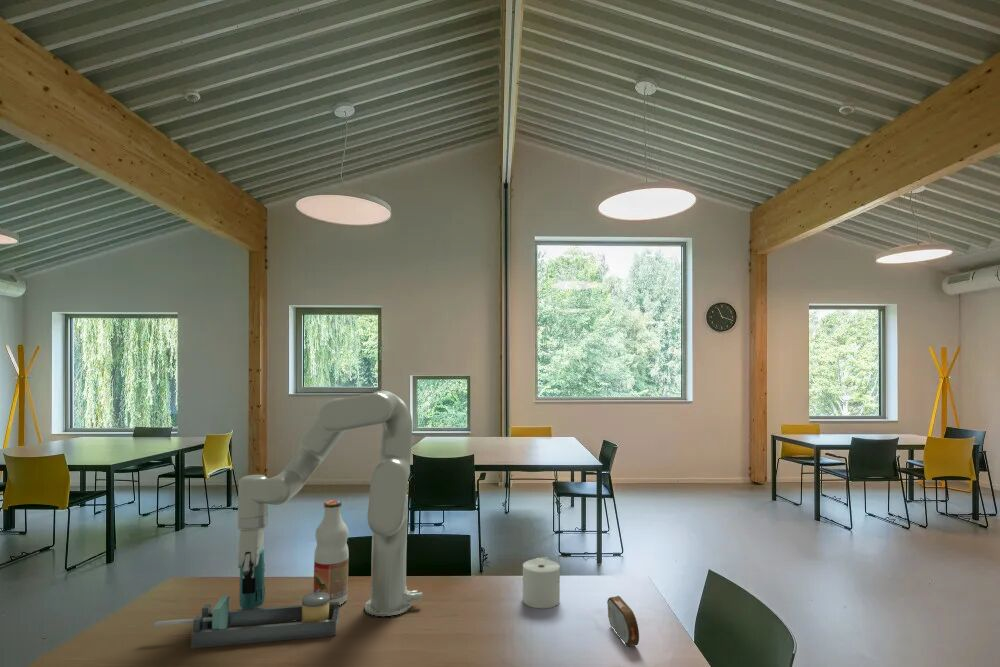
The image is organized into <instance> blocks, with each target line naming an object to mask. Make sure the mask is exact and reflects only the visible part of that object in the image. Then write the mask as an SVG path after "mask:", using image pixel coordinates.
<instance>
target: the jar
mask: <svg viewBox="0 0 1000 667" xmlns="http://www.w3.org/2000/svg"><path fill="white" fill-rule="evenodd" d="M329 601H330V595H329V594H328V593H326V592H310V593H306V594H305V595H303V597H302V598H301V605H302V620H301V622H307V621H319V620H330V618H329Z"/></svg>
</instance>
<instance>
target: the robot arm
mask: <svg viewBox="0 0 1000 667" xmlns="http://www.w3.org/2000/svg"><path fill="white" fill-rule="evenodd" d="M380 424H381V425H382V426H381V427H382V431H381V439H380V451H379V459H378V462H377V463H376V465H375V466H374V469H373V470H372V472H371V473H372V474H371V477H370V478H371V479H370V488H369V495H368V496H369V498H368V506H367V517H366V518H367V524H368V527H369V529H370V531H372V534H371V535H372V536H371V537H372V538H371V564H370V565H371V568H370V569H371V572H370V574H371V575H370V577H371V578H370V580H371V581H370V585H371V586H370V599H368V600H367V601H366V602H365V604H364V610H365V612H366V613H367V614H368V613H369V614H368V615H370V614H371V615H370V616H373V615H375V616H374V617H377V616H391V615H397V614H400V613H403V612H405V611H406V612H408V611H409V610H410V609H411V607H412V601H423V592H418V589H415V590H409V589H408V586H407V548H408V547H407V545H408V544H407V543H408V540H407V538H408V521H409V520H408V519H409V518H408V517H409V507H408V502H407V500H406V499H407V488H408V482H409V481H408V480H409V478H410V475H411V454H412V440H413V437H412V436H413V419H412V415H411V412H410V409H409V408H408V406H407V404H406V403H405V402H404V401H403V399H401V397H399V396H398V395H396V394H395V393H393V392H391V391H388V390H377V391H374V392H372V393H367V394H362V395H357V396H351V397H346V398H343V397H337V398H334V399H329V400H328V401H326V402H325V403H323V404H322V406H321V407H320V409H319V411H318V415H317V418H316V419H315V420H314V422H313V423H312V424H311V426H309V428H308V429H307V431H306V432H305V433H304V434H303V435H302V436H301V438H300V441H299V445H298V449H297V451H296V452H295V454H294V455H293V457H292V458H291V459H290V461H288V462H289V463H287V465H286V466H285V467H284V468H283V470H282V471H281V472H280V473H279V474H277V475H275V476H273V477H269V478H268V477H267V476H266V475H265V474H250V475H245V476H243V477H241V478H240V479H239V481H238V489H237V490H238V491H237V492H238V500H237V502H238V503H237V504H238V505H237V530H239V531H240V532H239V539H238V551H237V552H238V553H237V563H236V564H237V569H240V568H241V567H242V566H243V564H244V568H243V579H242V594H251V593H255V587H256V577H254V576H255V567H256V566H257V565H258V563H259V558H260V552H261V550H262V549H264V550H265V548H264V546H265V545H264V544H265V535H264V534H265V532H264V530H265V528H266V527H268V519H269V517H268V515H269V514H268V513H269V512H268V510H269V508H268V507H269V505H273V506H279V505H284V504H286V503H288V501H290V500H291V499H293V497H294V496H296V495H297V494H298V493H299V492H300V491H301V490H302V488H303V487H304V486H305V485H306V483H307V482H308V481H309V480H310V478H311V477H312V475H313V474H314V473H315V472H316V470H317V469H318V468H319V466H320V465H321V463H322V462H324V461H325V459H326V457H327V456H328V455H329V453H330V452H331V451H332V449H333V448H334V446H335V445H336V444H337V442H339V440H340V439H341V438H342V436H343V435H345V433H346V431H349V430H355V429H359V428H366V427H371V426H375V425H380ZM243 562H244V563H243ZM250 564H253V566H250ZM250 568H252V571H251V570H250ZM409 608H410V609H409ZM408 609H409V610H408ZM407 610H408V611H407ZM406 612H405V613H406ZM403 614H404V613H403ZM400 615H401V614H400ZM397 616H398V615H397ZM391 617H392V616H391Z"/></svg>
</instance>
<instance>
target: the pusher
mask: <svg viewBox="0 0 1000 667" xmlns="http://www.w3.org/2000/svg"><path fill="white" fill-rule="evenodd" d="M229 603H230V594H222V595H221V596H220V597H219V599H218V601H217V603H216V604H215V605H214V607H213V609H212V612H213V616H212V617H207V618H203V622H212V628H211V629H223V628H229V626H228V616H229V611H230V609H229V608H230V604H229ZM194 619H195V617H194V618H185V619H172V620H159V621H155V622H154V623H153V626H154V627H161V626H173V625H185V624H187V625H188V624H193V620H194Z"/></svg>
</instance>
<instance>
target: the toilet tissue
mask: <svg viewBox="0 0 1000 667" xmlns="http://www.w3.org/2000/svg"><path fill="white" fill-rule="evenodd" d="M560 570H561V566H560V563H558V562H556V561H554V560H551V559H550V556H543V557H542V556H541V557H536V558H533V559H529V560H527V561H525V562H523V563H522V602H523V603H524V604H525V605H526V606H529V607H531V608H534V609H550V608H553V607H557V606H558V605H560V601H561V599H560V597H561V594H560V593H561V592H560V590H561V589H560V587H561V586H560V582H561V581H560V579H561V574H560ZM556 605H557V606H556Z"/></svg>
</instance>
